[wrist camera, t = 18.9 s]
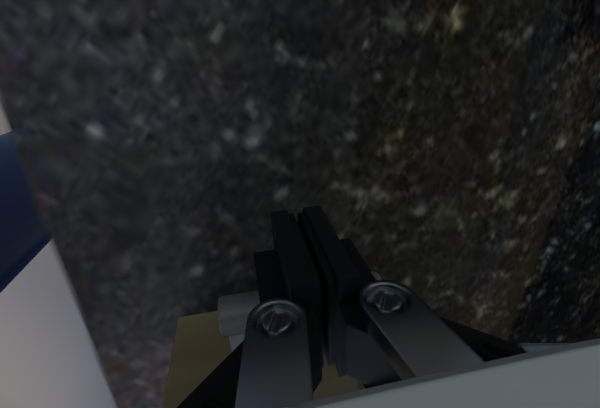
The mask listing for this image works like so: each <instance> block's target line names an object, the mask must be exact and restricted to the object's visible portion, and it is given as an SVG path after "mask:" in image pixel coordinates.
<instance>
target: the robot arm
mask: <svg viewBox="0 0 600 408" xmlns="http://www.w3.org/2000/svg"><path fill="white" fill-rule="evenodd" d="M271 222H272V231H273V241H274V250H267V251H261V252H254V259H255V267H256V275H257V284H258V292H259V300H260V303H259V304H258V305H257V306H255V307H254V308H253V309H252V311H251V312H250V313H249V315H248V318H247V322H246V329H245V336H244V340H243V341H242V342H241V343H240V344H239V345H238V346H237V347H236V348H235V349H234V350H233V351H232V352H231V353H230V354H229V355H228V356H227V357H226V358H225V359H224V360H223V361H222V362H221V363H220V364H219V365H218V366H217V367H216V368H215V369H214V370H213V371H212V372H211V373H210V374H209V375H208V376H207V377H206V378H205V379H204V380H203V381H202V382H201V383H200V384H199V385H198V386H197V387H196V388H195V389H194V390H193V391H192V392H191V393H190V394H189V395H188V396H187V397H186V398H185V399H184V400H183V401H182V402H181V404H180V405H179V406H178V407H177V408H600V338H599V339H592V340H587V341H582V342H577V343H519V346H518V348H517V347H516V346H514V345H513V344H511V343H509V342H507V341H505V340H502V339H500V338H497V337H494V336H492V335H489V334H486V333H483V332H481V331H478V330H475V329H472V328H469V327H467V326H464V325H461V324H458V323H455V322H453V321H450V320H447V319H444V318H441V317H439V316H438V315H437V314H436V313H435V312H434V311H432V310H431V309H430V308H429V307H428V306H427V305H426V304H425V303H424V302H423V301H422V300H421V299H420V298H419V297H418V296H417V295H416V294H415V293H414V292H413V291H412V290H411V289H409V288H408V287H407V286H405V285H403V284H401V283H399V282H395V281H391V280H376V279H375V277H374V275H373V274H372V272H371V271H370V269H369V268H368V266H367V265H366V263H365V262H364V260H363V258H362V257H361V255H360V254H359V252H358V251H357V249H356V248H355V246H354V245H353V243H352V242H351V240H350V239H348V238H346V239H340V240H339V238H338V236H337V235H336V233H335V231H334V229H333V228H332V226H331V224H330V223H329V221H328V219H327V218H326V216H325V214H324V212H323V211H322V209H321V207H320V206H314V207H306V208H303V212H300V213H298V223H297V221H296V218H295V216H294V214H288V212H287V210H284V211H277V212H271ZM323 350H324V353H325V356H326V360H327V363H328V365H329V366H332V365H335V367H336V370H337V373H338V376H339V377H341V376H345V375H348V376H350V377H352V378H354V379H356V380H357V387H358V389H359V390H357V391H353V392H348V393H344V394H339V395H335V396H331V397H326V398H322V399H318V400H314V399H313V393H314V391H315V390H316V388H317V387H318V385H319V384H320V382H321V381H322V367H324V359H323Z"/></svg>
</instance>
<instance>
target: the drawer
mask: <svg viewBox="0 0 600 408" xmlns="http://www.w3.org/2000/svg"><path fill="white" fill-rule="evenodd" d="M372 274H373V275H374V277H375V279H376V280H382V279H381V277H380V275H379V274H378V273H377V272H374V271H373V272H372ZM259 303H260V300H259V292H258V290H256V291H250V292H244V293H238V294H231V295H225V296H220V297H219V298H218V311H213V312H207V313H201V314H195V315H189V316H183V317H179V320H178V325H177V330H176V335H175V340H174V346H173V351H172V356H171V361H170V366H169V372H168V377H167V382H166V387H165V392H164V398H163V403H162V408H177V407H178V406H179V405H180V404H181V402H182V401H183V400H184V399H185V398H186V397H187V396H188V395H189V394H190V393H191V392H192V391H193V390H194V389H195V388H196V387H197V386H198V385H199V384H200V383H201V382H202V381H203V380H204V379H205V378H206V377H207V376H208V375H209V374H210V373H211V372H212V371H213V370H214V369H215V368H216V367H217V366H218V365H219V364H220V363H221V362H222V361H223V360H224V359H225V358H226V357H227V356H228V355H229V354H230V353H231V352H232V351H233V350H234V349H235V348H236V347H237V346H238V345H239V344H240V343H241V342H242V341H243V340H244V336H245V329H246V322H247V318H248V315H249V313H250V312H251V311H252V309H253V308H254V307H255V306H257V305H258V304H259ZM323 359H324V367H322V381H321V382H320V384H319V385H318V387H317V388H316V390H315V391H314V393H313V399H314V400H318V399H322V398H326V397H331V396H335V395H339V394H344V393H348V392H353V391H357V390H359V389H358V387H357V380H356V379H354V378H352V377H350V376H348V375H345V376H341V377H339V376H338V373H337V370H336V367H335V365H332V366H329V365H328V363H327V360H326V356H325V353H324V350H323Z"/></svg>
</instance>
